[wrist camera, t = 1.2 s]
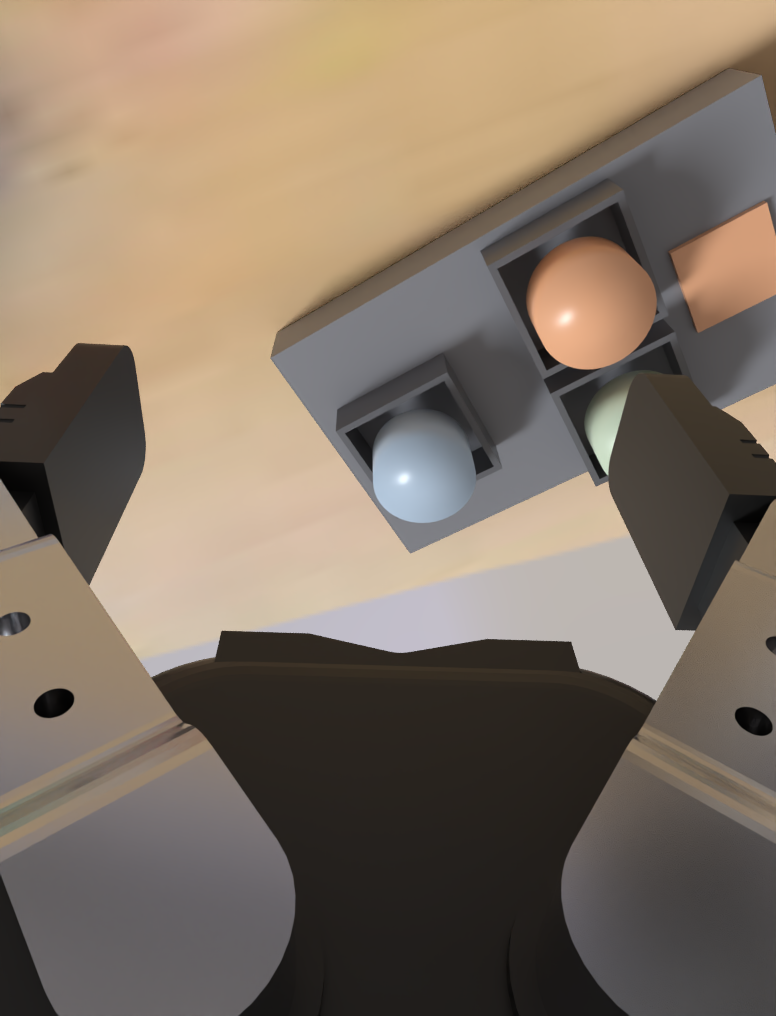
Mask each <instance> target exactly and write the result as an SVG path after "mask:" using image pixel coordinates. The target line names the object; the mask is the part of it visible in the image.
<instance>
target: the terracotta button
mask: <svg viewBox="0 0 776 1016" xmlns="http://www.w3.org/2000/svg"><path fill="white" fill-rule="evenodd" d="M526 305H527V311H528V315H529V317H530V320H531V322H532V324H533V326H534V328H535V330H536V332H537V334H538V335H539V337H540V339H541V341H542V343H543V345H544V347H545V348H546V350H547V351H548V352H549V354H550V355H551V356H552V357H554V358H555V359H556V360H557V361H559V362H560V363H562V364H564V365H566V366H569V367H573V368H577V369H597V368H603V367H606V366H609V365H612V364H614V363H616V362H618V361H620V360H622V359H623V358H625V357H626V356H628V355H629V354H630V353H632V352H633V351H634V350H635V349H636V348H637V347H638V346H639V345H640V344H641V343H642V341H643V340H644V338H645V337H646V336H647V334H648V332H649V330H650V328H651V326H652V324H653V321H654V317H655V314H656V307H657V298H656V291H655V288H654V285H653V282H652V280H651V278H650V277H649V275H648V274H647V272H646V271H645V270H644V269H643V268H642V267H641V266H640V265H639V264H638V263H637V262H636V261H635V260H634V259H633V258H632V257H631V256H630V255H629V254H628V253H627V252H626V251H625V250H624V249H623V248H622V247H620V246H619V245H618V244H616V243H614V242H613V241H611V240H608V239H605V238H601V237H593V236H588V237H579V238H575V239H572V240H569V241H566V242H564V243H562V244H560V245H559V246H557V247H555V248H554V249H553V250H551V251H550V252H549V253H548V254H547V255H546V256H545V257H544V258H543V259H542V260H541V261H540V262H539V264H538V265H537V266H536V268H535V270H534V271H533V273H532V276H531V278H530V280H529V284H528V287H527V293H526Z"/></svg>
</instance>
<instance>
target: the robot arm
mask: <svg viewBox="0 0 776 1016" xmlns="http://www.w3.org/2000/svg"><path fill="white" fill-rule="evenodd" d="M756 441H757V440H756V439H755V438H754V437H753V435H752V434H751V433H750V432H749V431H748V429H747V428H746V427H745V426H744V425H743V424H742V422H740V421H738V420H737V419H735V418H734V417H732V416H730V415H729V414H727V413H726V412H724V411H722V410H721V409H719V408H718V407H716V406H712V405H711V404H710V403H709V401H708V400H707V399H706V398H705V396H704V395H703V394H702V393H701V392H700V390H699V389H698V388H697V387H696V385H695V384H694V383H693V382H692V380H691V379H690V378H689V377H688V376H686V375H671V374H652V373H639V374H637V375H636V376H635V377H634V379H633V381H632V383H631V385H630V388H629V391H628V395H627V398H626V402H625V405H624V409H623V413H622V416H621V420H620V424H619V427H618V431H617V434H616V438H615V442H614V445H613V449H612V453H611V457H610V461H609V469H608V481H609V488H610V492H611V495H612V497H613V499H614V501H615V503H616V505H617V508H618V510H619V512H620V514H621V516H622V518H623V520H624V522H625V524H626V527H627V529H628V531H629V533H630V535H631V537H632V539H633V541H634V543H635V545H636V548H637V550H638V552H639V554H640V556H641V558H642V560H643V562H644V564H645V567H646V569H647V570H648V573H649V575H650V577H651V579H652V581H653V583H654V586H655V588H656V590H657V592H658V594H659V596H660V598H661V600H662V602H663V604H664V607H665V609H666V611H667V613H668V615H669V617H670V619H671V621H672V623H673V626H674V628H675V630H695V633H694V635H693V637H692V638H691V640H690V642H689V644H688V645H687V647H686V649H685V651H684V653H683V655H682V656H681V658H680V660H679V662H678V663H677V665H676V667H675V669H674V671H673V672H672V675H671V676H670V678H669V680H668V681H667V683H666V685H665V687H664V689H663V691H662V692H661V694H660V696H659V698H658V699H657V701H656V700H654V699H652V698H651V697H649V696H648V695H646V694H644V693H642V692H640V691H638V690H636V689H634V688H633V687H631V686H629V685H626V684H624V683H622V682H619V681H617V680H614V679H612V678H610V677H607V676H604V675H601V674H598V673H595V672H592V671H588V670H584V669H580V668H579V666H578V663H577V660H576V657H575V653H574V650H573V647H572V643H571V642H562V641H559V642H558V641H530V640H497V639H485V640H480V641H473V642H468V643H461V644H455V645H449V646H444V647H438V648H432V649H426V650H420V651H414V652H408V653H394V652H388V651H384V650H379V649H375V648H371V647H366V646H362V645H357V644H353V643H349V642H344V641H339V640H335V639H331V638H326V637H322V636H317V635H313V634H305V633H273V632H242V631H221V636H220V640H219V645H218V649H217V654H216V657H215V658H209V659H203V660H199V661H195V662H192V663H188V664H184V665H181V666H178V667H175V668H173V669H170V670H167V671H165V672H162V673H160V674H158V675H156V676H153V677H150V675H149V674H148V673H147V671H146V670H145V668H144V667H143V665H142V663H141V662H140V661H139V659H138V658H137V656H136V655H135V653H134V652H133V650H132V649H131V647H130V646H129V644H128V643H127V641H126V640H125V638H124V637H123V635H122V634H121V632H120V631H119V630H118V628H117V627H116V625H115V624H114V622H113V621H112V619H111V618H110V616H109V615H108V613H107V612H106V610H105V609H104V607H103V606H102V604H101V603H100V601H99V600H98V598H97V597H96V596H95V594H94V593H93V591H92V590H91V588H90V587H89V585H90V583H91V581H92V578H93V576H94V574H95V572H96V570H97V568H98V566H99V563H100V561H101V559H102V557H103V555H104V553H105V551H106V548H107V546H108V544H109V542H110V540H111V538H112V536H113V533H114V531H115V529H116V527H117V525H118V523H119V521H120V518H121V516H122V514H123V512H124V510H125V508H126V506H127V503H128V501H129V499H130V497H131V495H132V493H133V490H134V488H135V486H136V484H137V482H138V480H139V478H140V475H141V473H142V470H143V467H144V461H145V451H146V441H145V431H144V424H143V417H142V410H141V403H140V396H139V389H138V382H137V375H136V368H135V362H134V357H133V354H132V351H131V349H130V348H129V347H128V346H124V345H105V344H85V343H78V344H76V345H75V346H74V347H73V349H72V350H71V351H70V352H69V353H68V355H67V356H66V357H65V358H64V360H63V361H62V362H61V363H60V364H59V366H58V367H57V368H56V369H55V371H54V372H53V373H48V372H42V373H40V374H39V375H37V376H35V377H33V378H31V379H29V380H27V381H25V382H23V383H22V384H20V385H18V386H16V387H15V388H14V389H13V390H12V391H11V393H10V394H9V395H8V396H7V397H6V398H5V399H4V401H3V402H2V403H1V407H0V1016H776V462H775V461H774V460H773V459H769V454H768V453H767V452H766V451H765V449H764V448H763V447H762V446H761V445H760V444H756Z"/></svg>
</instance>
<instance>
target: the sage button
mask: <svg viewBox="0 0 776 1016" xmlns="http://www.w3.org/2000/svg"><path fill="white" fill-rule="evenodd" d="M639 373H652V374H662V373H659V372H656V371H650V370H639V371H633V372H629V373H625V374H623V375H620V376H618V377H616V378H614V379H612V380H611V381H609V382H608V383H606V384H605V385H604V386H603V387H602V388H601V389H600V390H599V391H598V392H597V393H596V394H595V395H594V397H593V398H592V400H591V402H590V403H589V405H588V408H587V410H586V414H585V420H584V428H585V433H586V436H587V438H588V440H589V442H590V444H591V446H592V448H593V450H594V452H595V454H596V456H597V458H598V460H599V462H600V464H601V466H602V468H603V470H604V471H605V473H606V474H607V475H608V469H609V461H610V457H611V453H612V449H613V445H614V442H615V438H616V434H617V431H618V427H619V424H620V420H621V416H622V413H623V409H624V405H625V402H626V398H627V395H628V391H629V388H630V385H631V383H632V381H633V379H634V377H635V376H636V375H637V374H639Z"/></svg>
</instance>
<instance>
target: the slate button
mask: <svg viewBox="0 0 776 1016" xmlns="http://www.w3.org/2000/svg"><path fill="white" fill-rule="evenodd" d="M372 456H373V487H374V491H375V494H376V497H377V499H378V501H379V502H380V504H381V505H382V506H383V507H384V508H385V509H386V510H387V511H388V512H389V513H391V514H392V515H394V516H396V517H398V518H400V519H402V520H405V521H409V522H415V523H430V522H436V521H439V520H443V519H445V518H448V517H450V516H451V515H453V514H455V513H456V512H458V511H459V510H460V509H461V508H462V507H464V505H465V504H466V503H467V502H468V501H469V499H470V498H471V496H472V494H473V492H474V488H475V484H476V470H475V466H474V462H473V457H472V453H471V449H470V445H469V440H468V437H467V435H466V433H465V431H464V429H463V428H462V426H461V425H460V424H459V423H458V422H457V421H456V420H455V419H453V418H452V417H450V416H449V415H447V414H445V413H442V412H440V411H436V410H431V409H415V410H410V411H406V412H403V413H401V414H399V415H397V416H395V417H393V418H392V419H390V420H389V421H388V422H387V423H386V424H385V425H384V426H383V427H382V428H381V429H380V431H379V432H378V434H377V436H376V438H375V441H374V444H373V452H372Z"/></svg>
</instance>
